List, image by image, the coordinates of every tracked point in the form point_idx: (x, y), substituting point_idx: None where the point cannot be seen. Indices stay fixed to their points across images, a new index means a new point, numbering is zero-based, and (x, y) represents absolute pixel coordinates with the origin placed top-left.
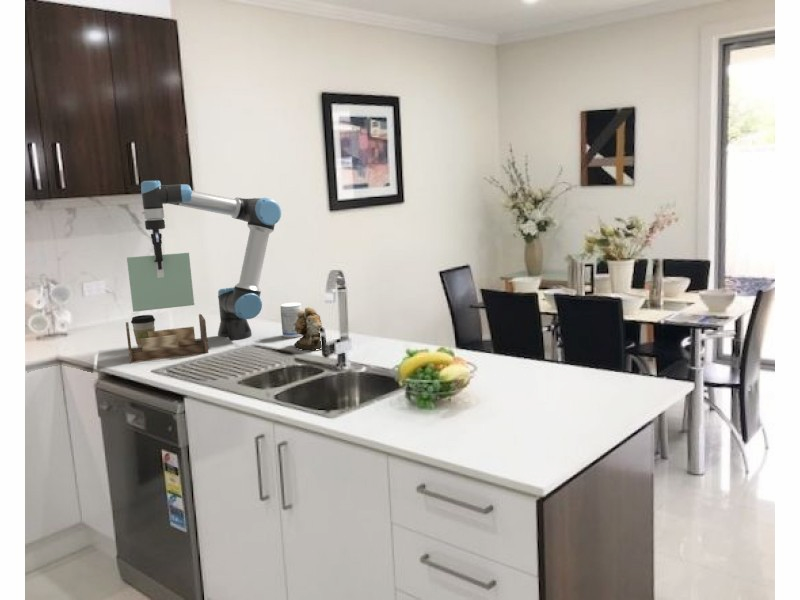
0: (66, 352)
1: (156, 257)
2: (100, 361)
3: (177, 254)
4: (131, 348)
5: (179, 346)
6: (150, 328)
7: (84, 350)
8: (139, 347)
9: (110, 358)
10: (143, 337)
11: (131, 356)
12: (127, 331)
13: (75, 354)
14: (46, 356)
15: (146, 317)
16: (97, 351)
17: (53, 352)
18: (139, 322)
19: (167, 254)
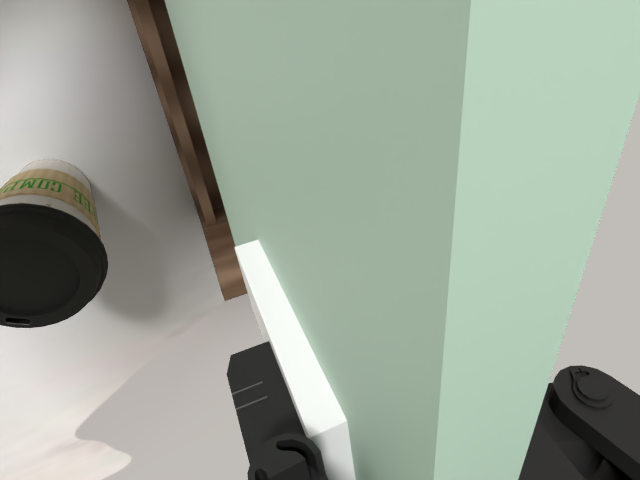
0: (31, 443)
1: (623, 473)
2: (202, 296)
3: (581, 120)
4: (208, 224)
5: None
6: (69, 204)
7: (4, 410)
8: (199, 198)
9: (166, 282)
10: (96, 216)
11: None
12: None
13: (71, 406)
14: (83, 462)
15: (34, 256)
16: (31, 364)
17: (24, 474)
18: (105, 266)
19: (507, 470)
